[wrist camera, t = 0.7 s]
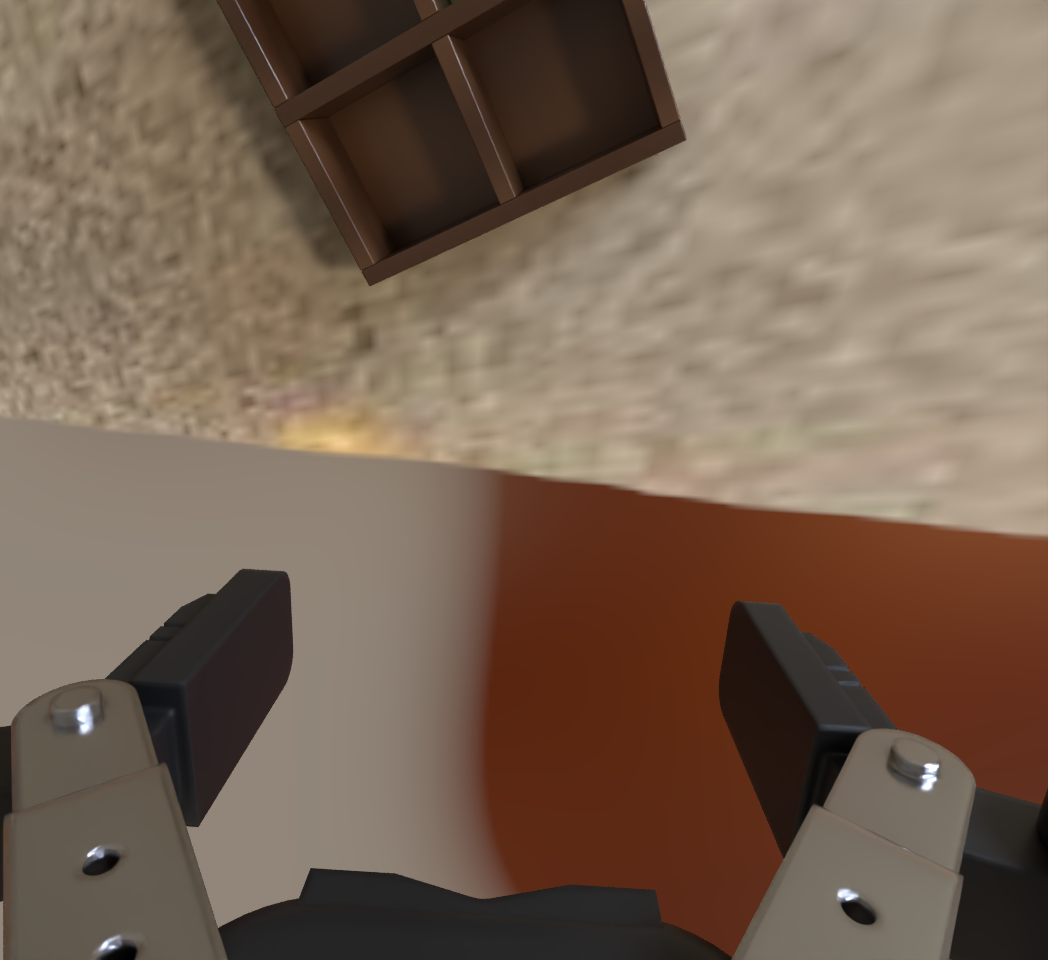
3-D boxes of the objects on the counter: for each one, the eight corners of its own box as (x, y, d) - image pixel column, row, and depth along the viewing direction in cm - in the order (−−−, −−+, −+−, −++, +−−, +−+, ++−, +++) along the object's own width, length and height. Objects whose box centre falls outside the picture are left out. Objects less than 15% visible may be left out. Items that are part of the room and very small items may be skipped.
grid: (220, -70, 29) (165, -92, 26) (546, -302, 25) (534, -368, 21) (394, 267, 36) (369, 286, 32) (679, 134, 31) (687, 139, 28)
